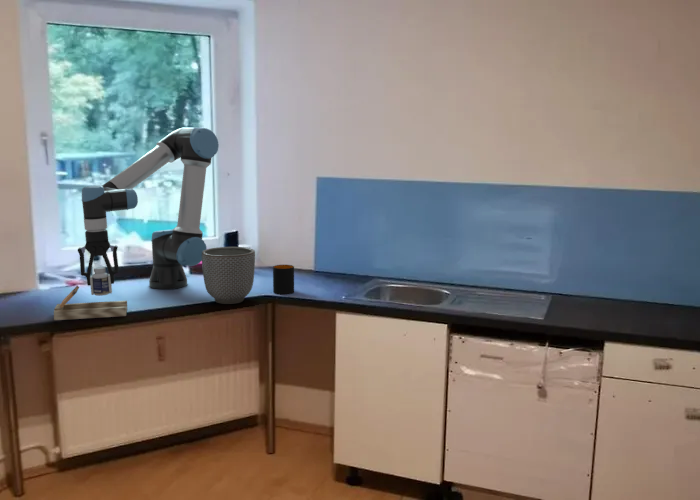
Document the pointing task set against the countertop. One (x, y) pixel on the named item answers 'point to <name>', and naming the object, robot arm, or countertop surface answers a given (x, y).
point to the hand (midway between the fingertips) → (101, 293)
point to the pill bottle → (100, 281)
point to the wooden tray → (90, 310)
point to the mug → (283, 279)
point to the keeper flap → (69, 296)
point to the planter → (228, 273)
